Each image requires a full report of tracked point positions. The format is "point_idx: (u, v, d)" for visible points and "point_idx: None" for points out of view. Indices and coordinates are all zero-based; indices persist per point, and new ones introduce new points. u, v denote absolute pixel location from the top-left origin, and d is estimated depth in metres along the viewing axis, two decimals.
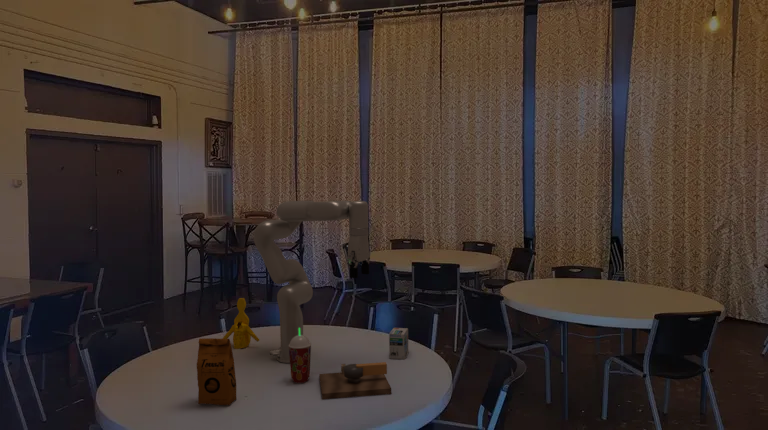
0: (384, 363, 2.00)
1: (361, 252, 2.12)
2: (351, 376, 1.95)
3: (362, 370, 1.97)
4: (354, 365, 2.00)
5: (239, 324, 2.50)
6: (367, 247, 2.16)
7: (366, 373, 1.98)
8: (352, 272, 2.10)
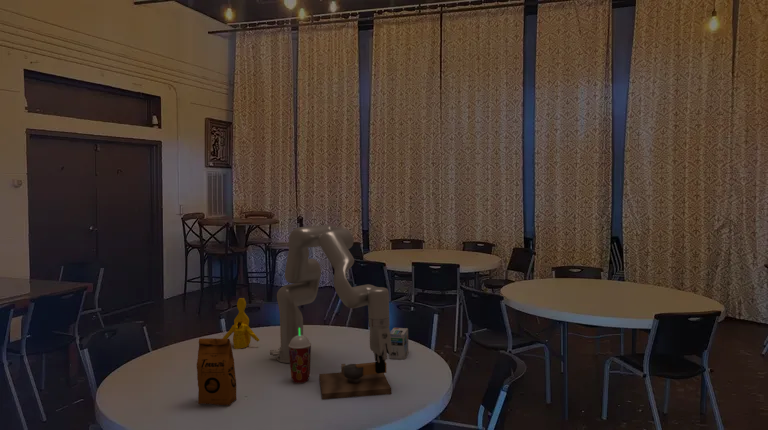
0: None
1: (371, 341, 1.98)
2: (352, 376, 1.95)
3: (362, 370, 1.97)
4: (354, 365, 2.00)
5: (239, 324, 2.50)
6: (376, 341, 1.94)
7: (366, 373, 1.98)
8: None
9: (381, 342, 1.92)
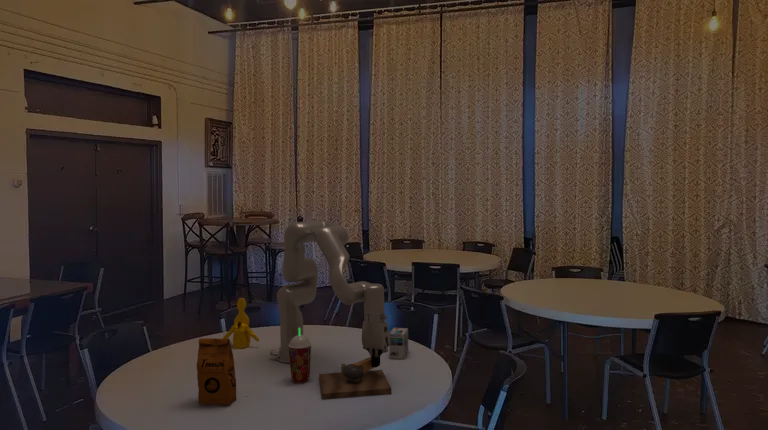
0: None
1: (366, 337, 2.03)
2: (358, 375, 1.95)
3: None
4: (350, 365, 2.00)
5: (239, 324, 2.50)
6: (377, 336, 2.00)
7: (364, 370, 2.01)
8: None
9: (384, 336, 1.99)
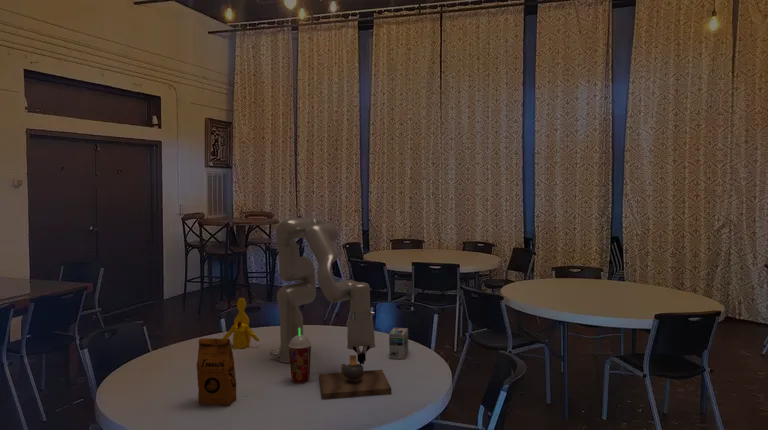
0: (353, 355, 2.10)
1: (354, 336, 2.04)
2: (362, 373, 1.97)
3: None
4: (348, 366, 1.99)
5: (239, 324, 2.50)
6: (368, 332, 2.05)
7: None
8: (357, 357, 2.07)
9: None
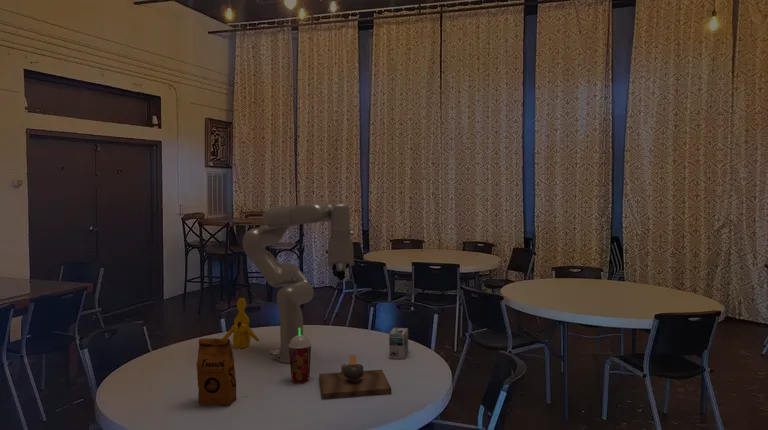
0: (353, 355, 2.10)
1: (334, 253, 2.15)
2: (362, 373, 1.97)
3: None
4: (348, 366, 1.99)
5: (239, 324, 2.50)
6: (347, 250, 2.15)
7: None
8: (337, 275, 2.18)
9: None
